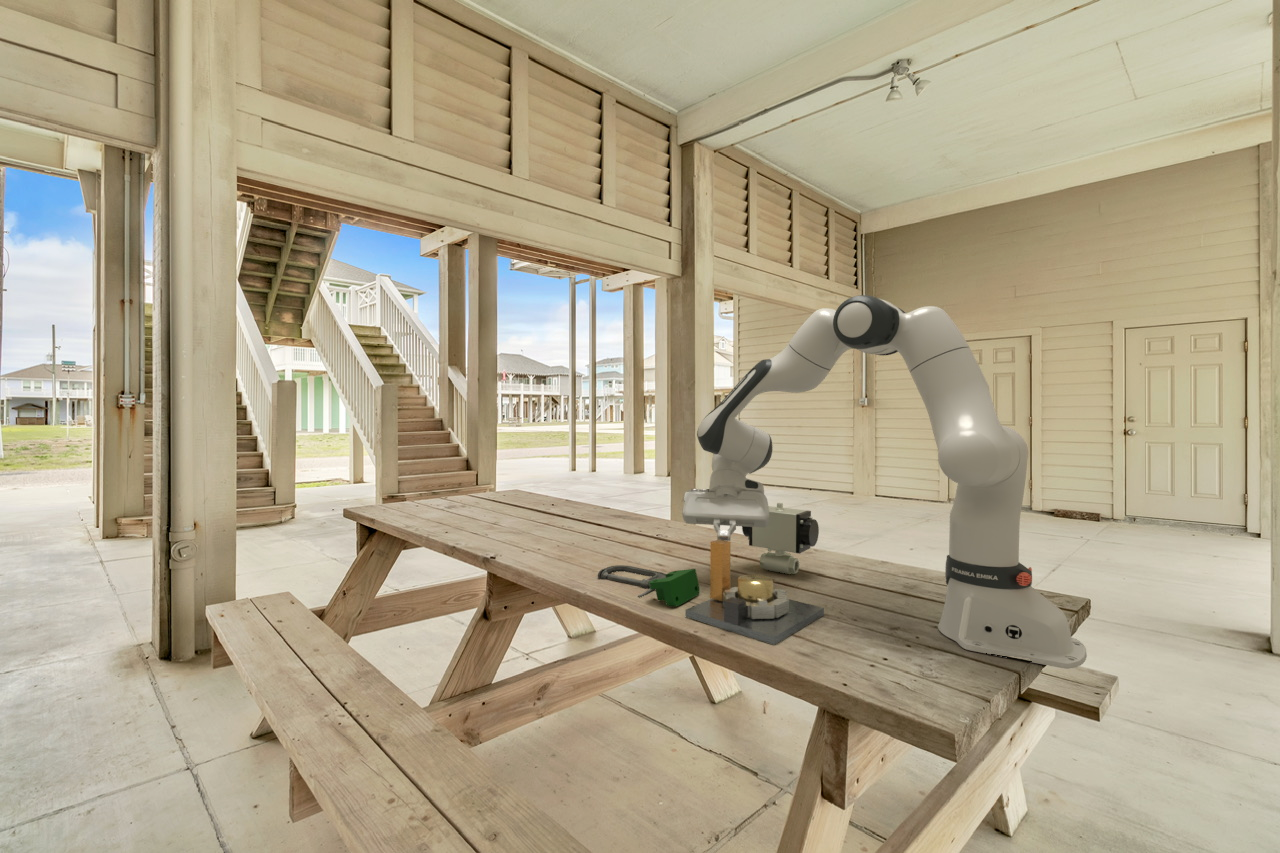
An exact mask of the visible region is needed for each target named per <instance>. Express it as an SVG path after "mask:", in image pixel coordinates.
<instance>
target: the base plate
mask: <svg viewBox="0 0 1280 853" xmlns="http://www.w3.org/2000/svg"><path fill="white" fill-rule="evenodd" d="M737 587H738V598H735V597H731V598H729V599H727V600H725V601H724V606H723V601H719V600H716V599H712V598H710V599H708V600H706V601H703V602H702V603H701V602H700V603H698V604H696V605H694V606H692V607H689V608H687V609H685V612H684V613H685V614H684V615H685V616H686V617H689V618H688V619H690V618H692V619H691V620H693V619H695V620H694V621H696V620H698V621H697V622H699V621H701V622H700V623H702V622H704V623H703V624H705V623H707V624H706V625H709V624H710V626H712V625H713V627H715V628H719V629H720V630H721V629H722V630H725V631H729V632H731V633H735V634H737V635H741V636H743V637H747V638H751V639H753V640H757V641H759V642H763V643H767V644H769V645H773V646H776V645H778V643H780V642H782V641H783V640H786V639H787V638H789V637H790V636H792V635H794V634H795V633H797V632H798V631H800V630H802V629H804V628H805V627H807V626H809V625H810V624H812V623H813V622H815V621H817V620H818V619H820V618H822V617H823V616H825V607H822V606H817V605H814V604H811V603H806V602H801V601H798V600H794V599H790V598H789V611H788V612H787V613H786V614H784V615H782V616H780V617H778V618H776V617H774V619H751V617H750V618H746V601H747V602H750V603H757V598H765V599H766V600H767V603H769V602H772V601H773V589H774V580H773V578H771V576H770V577H769V576H766V575H763V574H753V573H751V574H744V575H743V574H742V575H740V576H738V577H737ZM686 617H685V618H686Z"/></svg>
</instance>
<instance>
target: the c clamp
mask: <svg viewBox="0 0 1280 853" xmlns="http://www.w3.org/2000/svg"><path fill="white" fill-rule="evenodd" d="M616 571H618V572H624V571H625V572H624V573H630V574H635V573H636V574H635V575H640V574H641V576H646V577H648V578H647V579H645V578H644V579H636V578H632V577H628V576H622V575H621V576H620V575H616V574H613V573H617V572H616ZM612 572H613V573H612ZM666 574H667V573H666V572H665V573H664V572H662V571H657V570H656V571H655V570H651V569H646V568H641V567H635V566H631V565H623V564H622V565H621V564H619V565H618V564H617V565H610V566H608V567H605V568H602V569H600V570H599V572H598V573H597V578H598V579H599V580H609V581H613V580H614V582H618V583H623V584H629V585H633V586H638V587H640V588H641V587H642V589H646V588H648V589H646V590H645V591H643V592H642V593H640V594H638V595H637V598H638V597H641V598H642V596H643V597H645V596H647V595H648V594H650V593H651V592H652V591H655V589H650V585H649V582H650V581H652V580H655V579H663V578H666ZM650 576H652V577H650ZM649 592H650V593H649ZM644 595H645V596H644Z"/></svg>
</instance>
